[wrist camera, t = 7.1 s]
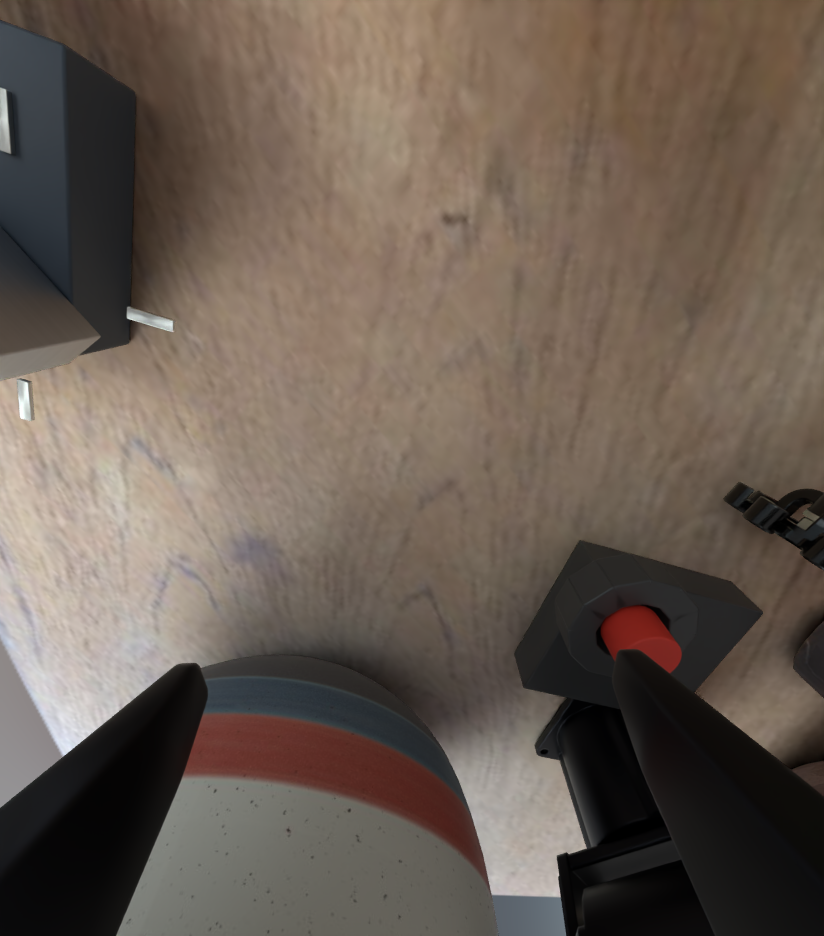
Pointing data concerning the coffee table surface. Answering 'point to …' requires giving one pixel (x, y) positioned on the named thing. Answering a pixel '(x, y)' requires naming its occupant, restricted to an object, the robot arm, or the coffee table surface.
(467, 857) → the planter
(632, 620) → the button
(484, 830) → the coffee table surface
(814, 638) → the book
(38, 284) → the tap handle
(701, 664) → the button box
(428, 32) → the coffee table surface
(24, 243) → the lever base
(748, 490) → the valve
